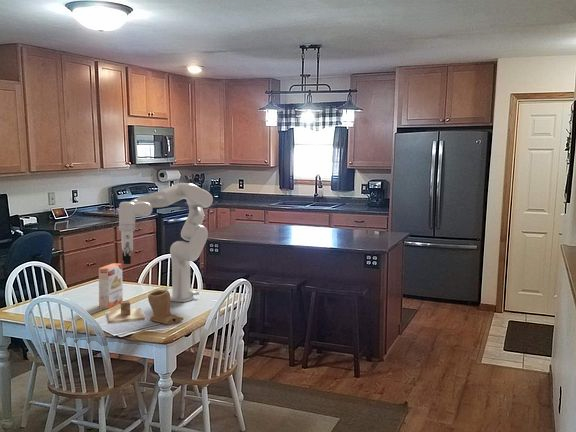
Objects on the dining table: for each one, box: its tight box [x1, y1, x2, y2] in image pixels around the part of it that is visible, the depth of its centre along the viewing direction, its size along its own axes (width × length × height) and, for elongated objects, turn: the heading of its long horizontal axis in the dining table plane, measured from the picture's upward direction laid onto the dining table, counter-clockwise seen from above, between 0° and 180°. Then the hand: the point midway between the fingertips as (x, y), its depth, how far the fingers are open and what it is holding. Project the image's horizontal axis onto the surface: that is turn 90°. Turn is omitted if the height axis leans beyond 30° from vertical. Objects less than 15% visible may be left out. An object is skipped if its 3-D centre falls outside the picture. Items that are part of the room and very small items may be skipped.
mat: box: [104, 308, 148, 325], centre depth 252 cm, size 18×18×1 cm
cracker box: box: [98, 262, 124, 309], centre depth 270 cm, size 14×6×21 cm, turn 168°
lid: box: [106, 300, 146, 324], centre depth 251 cm, size 16×16×7 cm
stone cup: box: [147, 289, 184, 325], centre depth 245 cm, size 15×12×15 cm
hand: (126, 262), depth 256 cm, fingers open, 9 cm apart
